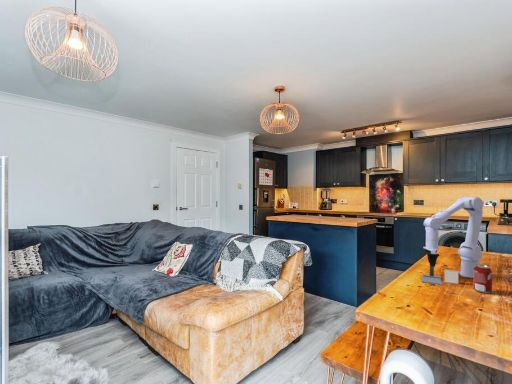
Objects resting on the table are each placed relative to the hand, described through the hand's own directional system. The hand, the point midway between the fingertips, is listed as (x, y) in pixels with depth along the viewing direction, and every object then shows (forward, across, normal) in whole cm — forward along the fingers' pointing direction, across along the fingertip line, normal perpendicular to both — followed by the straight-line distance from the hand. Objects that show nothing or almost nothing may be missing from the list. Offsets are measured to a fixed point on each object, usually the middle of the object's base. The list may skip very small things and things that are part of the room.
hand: (431, 264), depth 149 cm
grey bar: (+7, 0, 0) cm, 7 cm away
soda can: (+7, +13, +19) cm, 24 cm away
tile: (+7, +5, +8) cm, 12 cm away
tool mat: (+7, +7, -1) cm, 10 cm away
